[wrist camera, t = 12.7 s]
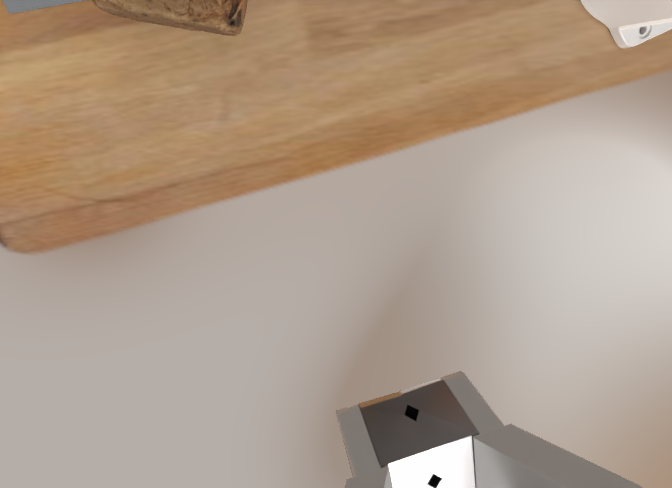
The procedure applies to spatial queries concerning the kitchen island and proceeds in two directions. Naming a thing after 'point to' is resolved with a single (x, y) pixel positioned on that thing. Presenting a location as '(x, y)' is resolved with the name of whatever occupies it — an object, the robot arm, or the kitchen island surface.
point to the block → (182, 13)
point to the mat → (33, 4)
